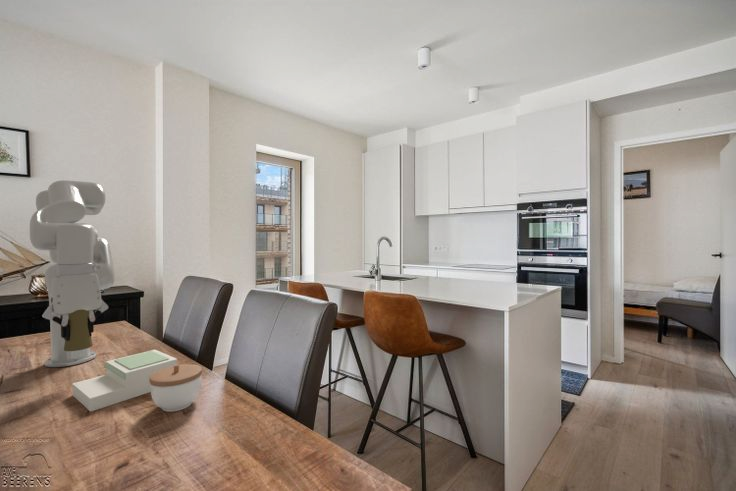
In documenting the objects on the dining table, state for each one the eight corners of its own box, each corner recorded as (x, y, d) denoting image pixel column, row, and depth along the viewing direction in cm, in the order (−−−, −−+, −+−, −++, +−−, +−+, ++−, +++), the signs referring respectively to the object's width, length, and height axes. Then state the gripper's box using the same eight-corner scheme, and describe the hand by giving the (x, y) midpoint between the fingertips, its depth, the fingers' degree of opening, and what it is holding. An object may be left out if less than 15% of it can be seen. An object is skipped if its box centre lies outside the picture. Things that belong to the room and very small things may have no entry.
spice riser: (72, 395, 87) (71, 368, 87) (155, 371, 102) (155, 348, 102) (90, 411, 78) (89, 381, 78) (178, 383, 94) (177, 357, 93)
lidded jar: (176, 420, 74) (175, 376, 74) (138, 413, 77) (137, 371, 77) (212, 398, 85) (212, 359, 84) (177, 392, 88) (176, 355, 87)
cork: (76, 352, 91) (75, 310, 90) (57, 350, 92) (56, 308, 91) (98, 344, 96) (97, 305, 96) (80, 342, 98) (79, 304, 97)
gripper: (108, 266, 102) (109, 328, 103) (29, 271, 89) (32, 342, 90) (117, 268, 97) (119, 333, 98) (36, 274, 84) (39, 349, 85)
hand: (77, 337), depth 94 cm, fingers closed on cork, 3 cm apart
